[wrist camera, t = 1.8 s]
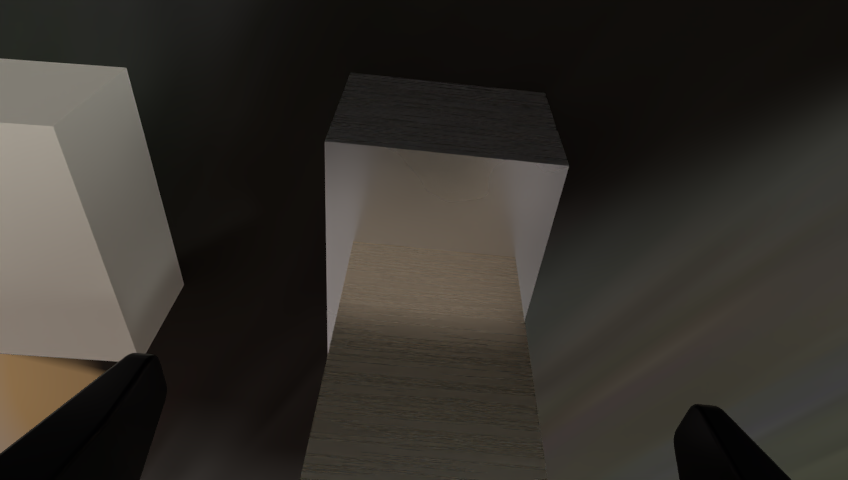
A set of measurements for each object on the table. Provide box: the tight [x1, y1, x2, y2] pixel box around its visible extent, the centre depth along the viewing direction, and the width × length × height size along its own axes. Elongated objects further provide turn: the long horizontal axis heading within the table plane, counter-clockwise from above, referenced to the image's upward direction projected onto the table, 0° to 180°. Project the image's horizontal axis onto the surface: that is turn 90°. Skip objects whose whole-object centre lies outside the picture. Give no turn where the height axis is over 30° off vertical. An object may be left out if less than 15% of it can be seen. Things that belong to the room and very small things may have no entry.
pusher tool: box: [300, 72, 569, 480], centre depth 10 cm, size 4×7×10 cm, turn 175°
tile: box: [0, 59, 184, 362], centre depth 12 cm, size 6×6×3 cm
